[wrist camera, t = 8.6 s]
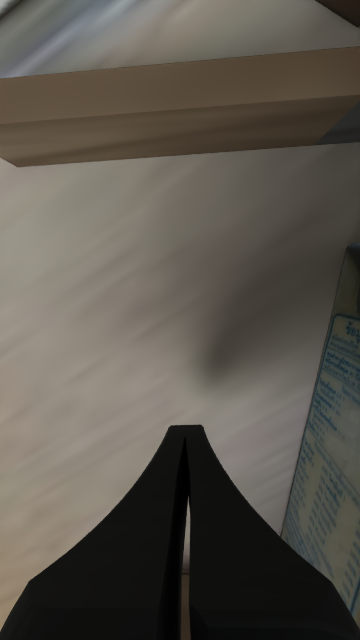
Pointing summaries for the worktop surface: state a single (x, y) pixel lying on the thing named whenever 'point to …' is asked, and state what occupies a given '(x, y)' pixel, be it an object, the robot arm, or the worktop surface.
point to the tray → (182, 116)
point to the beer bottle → (344, 9)
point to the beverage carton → (333, 452)
